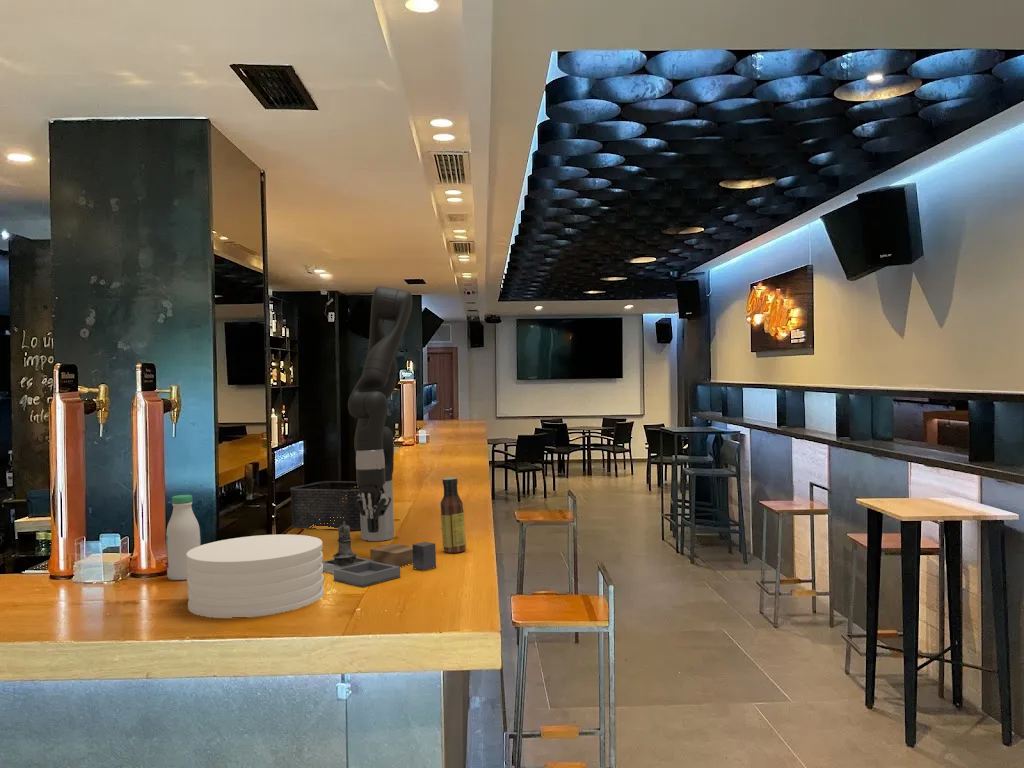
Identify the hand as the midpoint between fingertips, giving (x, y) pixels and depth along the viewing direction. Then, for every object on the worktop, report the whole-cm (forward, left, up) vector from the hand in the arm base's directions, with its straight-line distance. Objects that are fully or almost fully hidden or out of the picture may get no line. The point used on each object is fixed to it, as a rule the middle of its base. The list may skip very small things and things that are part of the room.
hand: (373, 532), depth 208 cm
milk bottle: (-23, -41, -7) cm, 47 cm away
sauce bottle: (+12, +17, -7) cm, 22 cm away
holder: (+4, -13, -7) cm, 15 cm away
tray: (+17, -16, -7) cm, 24 cm away
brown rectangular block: (+9, -1, -7) cm, 12 cm away
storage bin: (-50, +26, -7) cm, 57 cm away
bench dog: (+20, -1, -7) cm, 21 cm away
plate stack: (+11, -41, -7) cm, 43 cm away
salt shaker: (+4, -13, -7) cm, 15 cm away
